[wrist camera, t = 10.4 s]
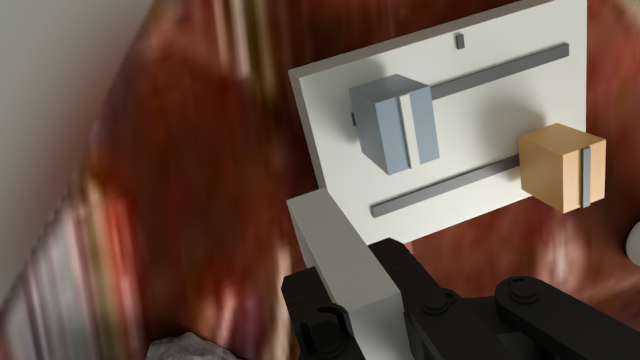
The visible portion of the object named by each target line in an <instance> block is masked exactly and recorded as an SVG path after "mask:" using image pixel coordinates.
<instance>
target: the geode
mask: <svg viewBox="0 0 640 360" xmlns="http://www.w3.org/2000/svg"><path fill="white" fill-rule="evenodd" d="M146 360H241V359H237V358H236V357H235V356H234V355H233V354H232V353H231V352H229V351H228V350H226V349H224V348H222V347H220V346H218V345H217V344H215V343H213V342H211V341H205V340H203V339H201V338H200V337H198V336H197V335H195V334H194V333H192V332H186V333H184V334H182V335H180V336H178V337H170V336H169V337H163V338H158V339H157V340H155V341H153V342H152V343H151V344H150V347H149V349H148V353H147V356H146Z"/></svg>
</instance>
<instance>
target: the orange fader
mask: <svg viewBox="0 0 640 360" xmlns="http://www.w3.org/2000/svg"><path fill="white" fill-rule="evenodd" d="M518 142H519V160H520V177H521V189H522V190H523V191H525V192H527V193H529V194H530V195H532V196H534V197H536V198H537V199H539V200H541V201H543V202H544V203H546V204H548V205H550V206H551V207H553V208H555V209H557V210H558V211H560V212H562V213H566V212H569V211H571V210H574V209H576V208H579V207H582V208H585V207H587V206H590V203H592V202H594V201H597V200H599V199H602V198H604V192H605V157H606V139H603V138H600V137H597V136H594V135H591V134H588V133H586V132H583V131H580V130H577V129H574V128H571V127H568V126H565V125H562V124H559V123H555V124H552V125H549V126H547V127H544V128H541V129H538V130H535V131H532V132H530V133H527V134H524V135H521V136H518Z"/></svg>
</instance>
